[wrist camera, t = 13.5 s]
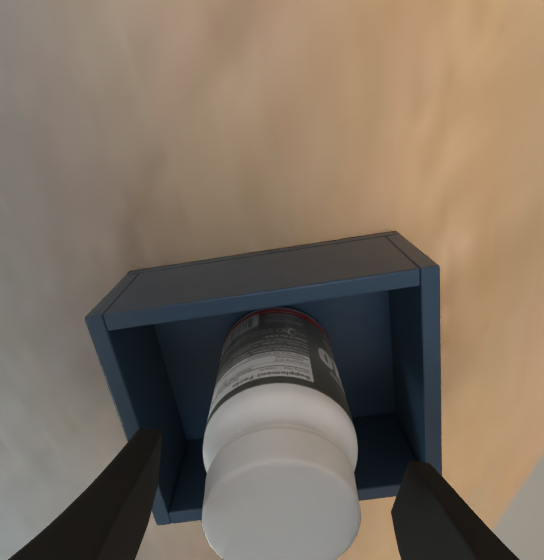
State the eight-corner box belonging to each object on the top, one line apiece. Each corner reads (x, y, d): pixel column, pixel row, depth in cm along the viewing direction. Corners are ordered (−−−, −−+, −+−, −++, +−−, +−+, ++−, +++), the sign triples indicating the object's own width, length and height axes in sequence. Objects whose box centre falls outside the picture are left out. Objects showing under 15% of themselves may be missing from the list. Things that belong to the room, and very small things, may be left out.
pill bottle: (332, 392, 19) (379, 583, 11) (230, 401, 19) (203, 596, 11) (328, 298, 17) (379, 442, 9) (215, 307, 17) (172, 459, 9)
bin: (179, 443, 20) (156, 526, 16) (128, 270, 17) (83, 317, 13) (405, 414, 20) (442, 491, 16) (396, 230, 17) (440, 265, 12)
